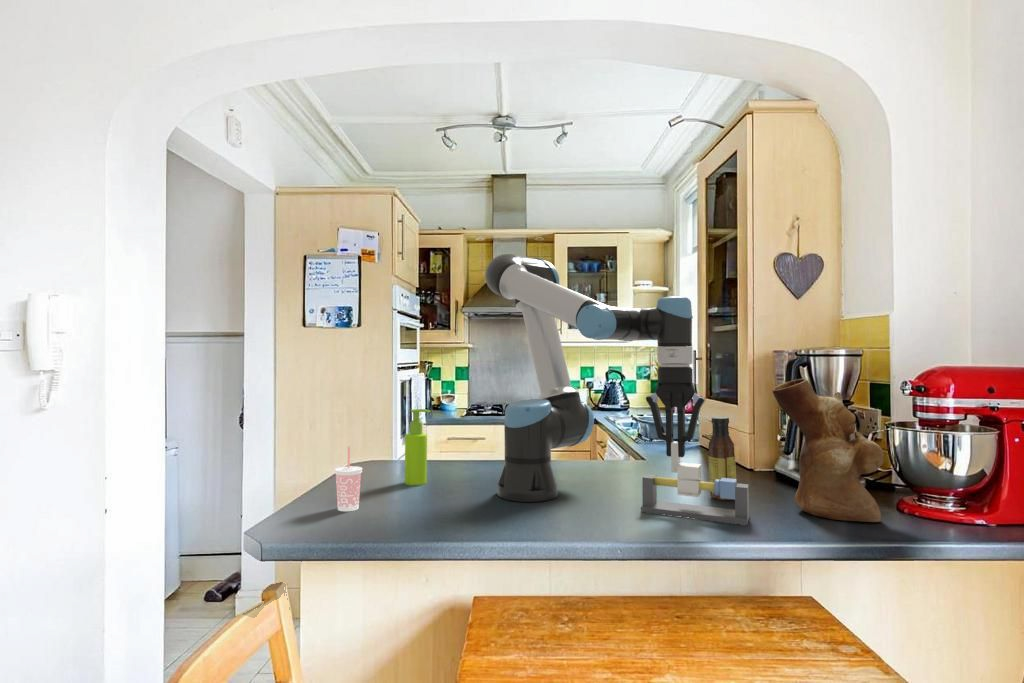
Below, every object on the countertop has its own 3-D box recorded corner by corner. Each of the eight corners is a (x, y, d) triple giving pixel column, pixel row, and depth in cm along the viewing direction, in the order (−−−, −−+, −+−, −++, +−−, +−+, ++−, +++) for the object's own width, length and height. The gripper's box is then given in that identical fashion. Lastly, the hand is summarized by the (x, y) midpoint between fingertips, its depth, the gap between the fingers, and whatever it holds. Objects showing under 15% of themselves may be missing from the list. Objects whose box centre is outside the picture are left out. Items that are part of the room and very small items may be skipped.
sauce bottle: (732, 495, 142) (732, 415, 143) (740, 501, 136) (739, 418, 136) (705, 494, 143) (705, 415, 143) (711, 501, 137) (711, 418, 137)
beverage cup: (328, 510, 127) (329, 447, 127) (345, 503, 133) (345, 443, 133) (351, 513, 125) (352, 449, 125) (367, 506, 130) (368, 445, 131)
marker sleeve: (677, 494, 125) (677, 465, 125) (680, 490, 128) (680, 462, 129) (698, 497, 123) (698, 467, 123) (701, 493, 126) (701, 464, 127)
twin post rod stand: (640, 512, 127) (640, 474, 127) (647, 504, 133) (647, 469, 133) (746, 525, 117) (746, 485, 117) (749, 517, 123) (749, 478, 123)
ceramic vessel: (895, 528, 116) (894, 381, 116) (780, 520, 121) (779, 379, 122) (867, 507, 131) (866, 378, 132) (765, 501, 136) (764, 376, 137)
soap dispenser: (428, 485, 151) (429, 410, 152) (402, 485, 151) (403, 410, 152) (432, 480, 157) (432, 408, 158) (407, 480, 157) (407, 408, 158)
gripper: (642, 365, 127) (642, 471, 126) (702, 366, 121) (703, 477, 121) (649, 365, 134) (650, 466, 133) (707, 365, 128) (708, 471, 127)
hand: (675, 471), depth 127 cm, fingers closed
